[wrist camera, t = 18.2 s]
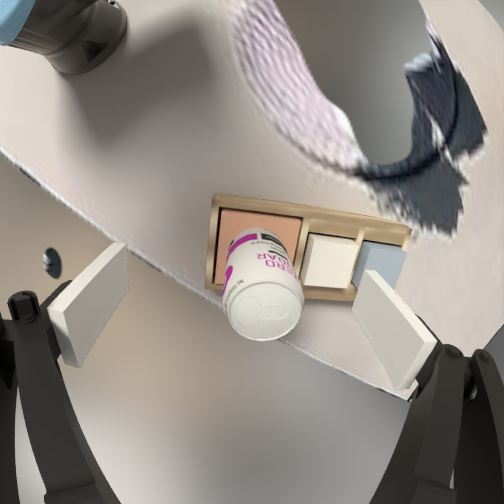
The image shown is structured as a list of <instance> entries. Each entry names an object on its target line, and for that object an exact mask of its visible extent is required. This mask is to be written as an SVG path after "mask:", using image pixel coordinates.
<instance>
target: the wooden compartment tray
mask: <svg viewBox="0 0 504 504" xmlns="http://www.w3.org/2000/svg"><path fill="white" fill-rule="evenodd" d="M220 207H227V208H236V209H244V210H252V211H261V212H268V213H276V214H284V215H291V216H297V217H298V218H299V220H300V221H301V224H300V229H299V234H298V239H297V244H296V249H295V254H294V259H293V264H292V265H293V268H294V270H295V273H296V275H297V278H298V280H299V282H300V285H301V288H302V291H303V295H304V298H308V299H322V300H338V301H355V298H356V295H357V292H358V289H357V287H356V286H355V285H354V283H353V282H352V281H351V280H352V277H353V272H354V269H355V266H356V262H357V259H358V255H359V251H360V248H361V244H362V240H363V239H364V240H371V241H378V242H384V243H390V245H393V246H398V247H399V248H401V249H402V250H403V251H404V252H406V249H407V246H408V242H409V239H410V235H411V232H412V229H411V228H409V227H408V226H406V225H404V224H403V223H401V222H397V221H392V220H387V219H382V218H376V217H371V216H366V215H360V214H355V213H349V212H343V211H338V210H332V209H326V208H319V207H313V206H307V205H300V204H293V203H286V202H279V201H272V200H264V199H256V198H248V197H240V196H231V195H222V194H214V196H213V198H212V207H211V217H210V228H209V239H208V251H207V264H206V278H205V289H211V290H220V291H223V289H224V284H216V283H215V275H216V273H215V272H214V264H215V253H216V242H217V232H218V222H219V213H220ZM308 232H315V233H323V234H330V235H337V236H344V237H346V239H352V240H353V241H354V242H355V243H356V244H357V245H358V246H359V248H358V251H357V255H356V259H355V262H354V266H353V269H352V273H351V276H350V279H349V283H348V286H347V288H334V287H322V286H310V285H304V284H303V281H302V279H301V277H300V274H301V270H300V267H301V263H302V258H303V253H304V249H305V244H306V239H307V234H308Z"/></svg>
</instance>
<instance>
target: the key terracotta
mask: <svg viewBox="0 0 504 504" xmlns="http://www.w3.org/2000/svg"><path fill="white" fill-rule="evenodd" d="M300 224H301V221H300V220H299V218H298V217H297V216H291V215H284V214H276V213H268V212H261V211H252V210H244V209H236V208H227V207H223V209H222V214H221V223H220V233H219V243H218V253H217V264H216V275H215V283H216V284H224V279H225V270H226V260H227V251H228V248H229V245H230V243H231V241H232V240H233V239H234V238H235V236H236V235H237V234H239V233H240V232H242V231H244V230H246V229H250V228H256V227H259V228H264V229H269V230H270V231H272V232H274V233H275V234H277V235H278V236H279V238H280V239H281V240H282V241H283V243H284V246H285V248H286V251H287V253H288V255H289V258H290V260H291V263H292V264H293V259H294V254H295V249H296V244H297V239H298V234H299V229H300Z"/></svg>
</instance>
